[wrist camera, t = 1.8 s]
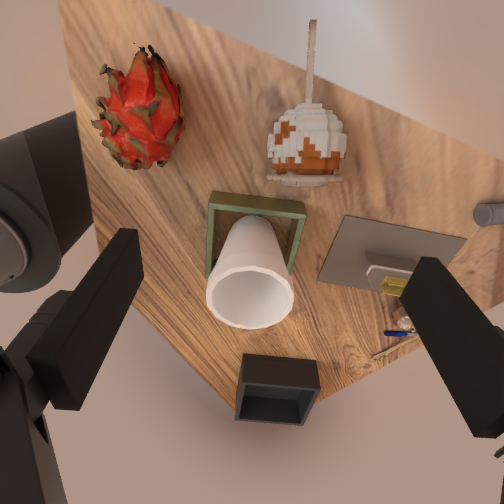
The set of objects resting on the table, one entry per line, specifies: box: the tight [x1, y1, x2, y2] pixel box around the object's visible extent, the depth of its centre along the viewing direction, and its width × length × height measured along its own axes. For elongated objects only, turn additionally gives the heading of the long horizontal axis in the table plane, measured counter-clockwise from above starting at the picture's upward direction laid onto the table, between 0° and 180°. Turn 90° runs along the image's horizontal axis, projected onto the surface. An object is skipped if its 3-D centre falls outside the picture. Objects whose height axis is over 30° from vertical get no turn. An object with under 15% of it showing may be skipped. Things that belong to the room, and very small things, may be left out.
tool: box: [371, 335, 419, 362], centre depth 55 cm, size 14×1×2 cm
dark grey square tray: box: [235, 354, 321, 426], centre depth 61 cm, size 15×15×6 cm
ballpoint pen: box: [384, 331, 418, 337], centre depth 54 cm, size 10×1×1 cm
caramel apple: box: [267, 20, 347, 186], centre depth 30 cm, size 8×8×15 cm
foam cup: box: [206, 215, 294, 330], centre depth 37 cm, size 10×9×13 cm
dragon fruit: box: [91, 43, 186, 170], centre depth 30 cm, size 8×8×12 cm
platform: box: [317, 216, 467, 296], centre depth 42 cm, size 12×18×7 cm, turn 78°
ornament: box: [392, 306, 416, 333], centre depth 48 cm, size 8×7×4 cm
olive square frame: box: [205, 191, 306, 278], centre depth 41 cm, size 12×12×4 cm
